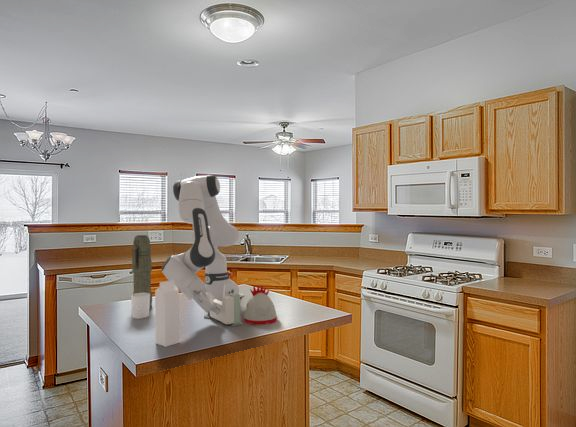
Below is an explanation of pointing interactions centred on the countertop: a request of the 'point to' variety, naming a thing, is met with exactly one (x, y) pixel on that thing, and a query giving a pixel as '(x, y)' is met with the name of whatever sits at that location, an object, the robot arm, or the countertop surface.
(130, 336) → the countertop surface
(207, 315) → the hinge post
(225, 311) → the cream l-shaped block
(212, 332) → the countertop surface
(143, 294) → the white cup
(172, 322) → the milk
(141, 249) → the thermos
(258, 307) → the kitchen timer
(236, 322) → the latch post
